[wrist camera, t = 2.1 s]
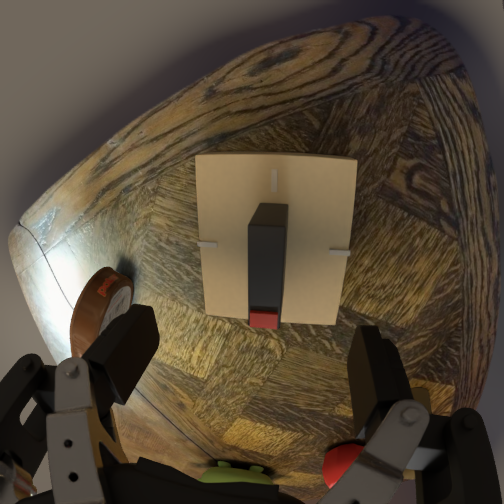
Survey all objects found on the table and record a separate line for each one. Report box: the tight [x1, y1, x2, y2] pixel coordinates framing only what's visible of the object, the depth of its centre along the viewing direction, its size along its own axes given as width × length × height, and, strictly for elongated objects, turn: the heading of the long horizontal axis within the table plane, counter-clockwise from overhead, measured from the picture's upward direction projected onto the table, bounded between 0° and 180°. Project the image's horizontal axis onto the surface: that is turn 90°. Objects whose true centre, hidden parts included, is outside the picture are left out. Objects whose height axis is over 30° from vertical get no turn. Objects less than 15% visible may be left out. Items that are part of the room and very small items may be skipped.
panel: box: [195, 151, 358, 325], centre depth 19 cm, size 12×10×3 cm
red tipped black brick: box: [248, 203, 289, 329], centre depth 16 cm, size 6×2×5 cm, turn 0°
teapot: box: [198, 461, 274, 485], centre depth 35 cm, size 20×13×13 cm
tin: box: [70, 267, 134, 358], centre depth 23 cm, size 15×3×8 cm, turn 156°
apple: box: [322, 443, 364, 488], centre depth 29 cm, size 8×8×8 cm
